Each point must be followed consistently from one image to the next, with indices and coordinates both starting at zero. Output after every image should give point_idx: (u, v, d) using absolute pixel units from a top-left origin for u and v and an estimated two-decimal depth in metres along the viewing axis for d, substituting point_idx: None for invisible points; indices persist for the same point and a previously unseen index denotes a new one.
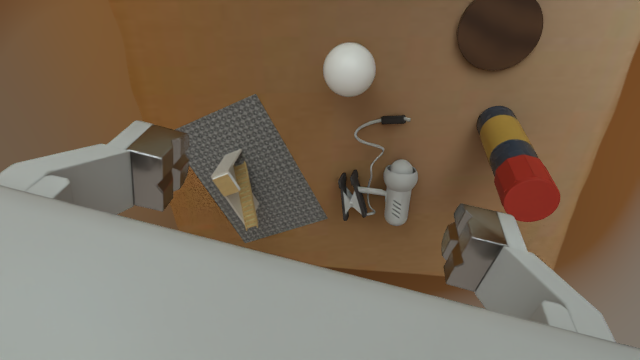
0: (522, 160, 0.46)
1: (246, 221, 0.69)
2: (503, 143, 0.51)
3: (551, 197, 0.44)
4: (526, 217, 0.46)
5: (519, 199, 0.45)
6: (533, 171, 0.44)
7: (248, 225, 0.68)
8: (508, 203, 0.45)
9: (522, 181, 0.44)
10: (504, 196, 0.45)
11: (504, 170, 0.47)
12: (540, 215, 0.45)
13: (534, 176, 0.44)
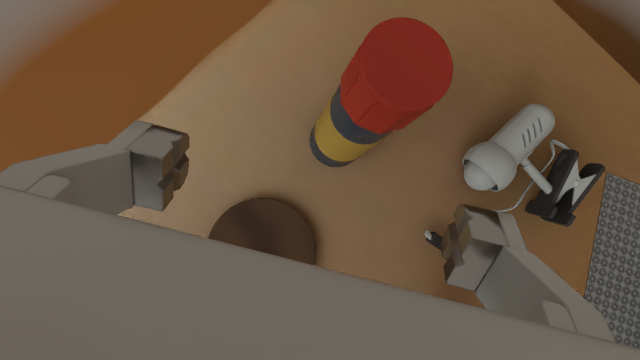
0: (365, 121, 0.27)
1: None
2: (361, 142, 0.32)
3: (377, 48, 0.24)
4: (431, 39, 0.24)
5: (421, 80, 0.24)
6: (369, 105, 0.25)
7: None
8: (440, 85, 0.24)
9: (398, 108, 0.24)
10: (437, 101, 0.24)
11: (397, 125, 0.27)
12: (410, 27, 0.24)
13: (376, 101, 0.24)
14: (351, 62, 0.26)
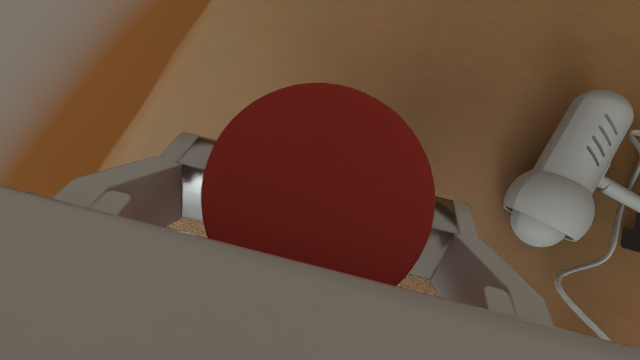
0: None
1: None
2: None
3: (237, 183, 0.10)
4: (359, 115, 0.10)
5: (363, 223, 0.10)
6: None
7: None
8: (413, 219, 0.10)
9: None
10: None
11: None
12: (303, 105, 0.10)
13: None
14: None
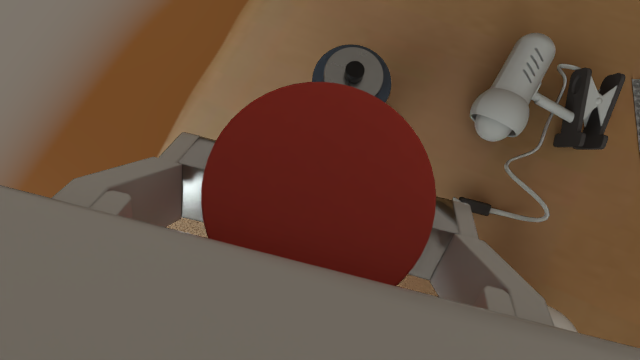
0: None
1: None
2: None
3: (237, 183, 0.10)
4: (359, 114, 0.10)
5: (364, 223, 0.10)
6: None
7: None
8: (414, 218, 0.10)
9: None
10: None
11: None
12: (303, 104, 0.10)
13: None
14: None
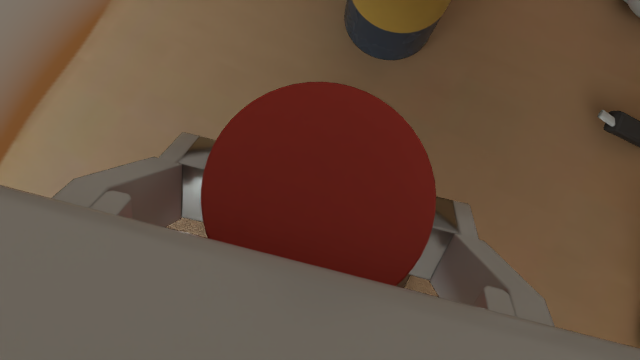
0: None
1: None
2: None
3: (237, 183, 0.10)
4: (359, 114, 0.10)
5: (364, 223, 0.10)
6: None
7: None
8: (414, 218, 0.10)
9: None
10: None
11: None
12: (303, 104, 0.10)
13: None
14: None
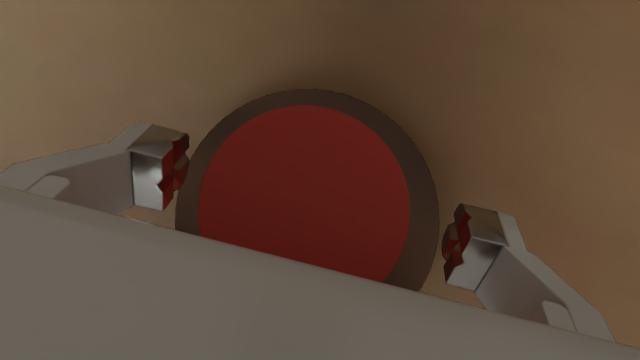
0: None
1: None
2: None
3: (230, 200, 0.11)
4: (340, 134, 0.11)
5: (345, 233, 0.11)
6: None
7: None
8: (390, 228, 0.11)
9: None
10: None
11: None
12: (288, 126, 0.11)
13: None
14: None
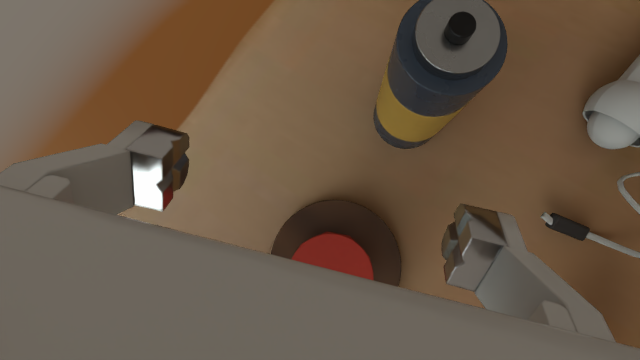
0: None
1: None
2: (436, 115, 0.23)
3: None
4: (349, 249, 0.27)
5: None
6: None
7: None
8: None
9: None
10: None
11: None
12: (328, 242, 0.27)
13: None
14: None
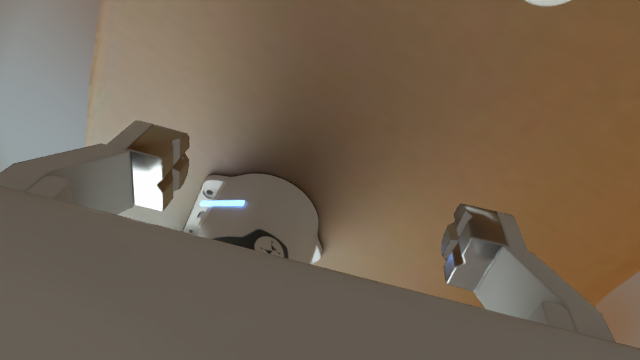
0: None
1: None
2: None
3: None
4: None
5: None
6: None
7: None
8: None
9: None
10: None
11: None
12: None
13: None
14: None
